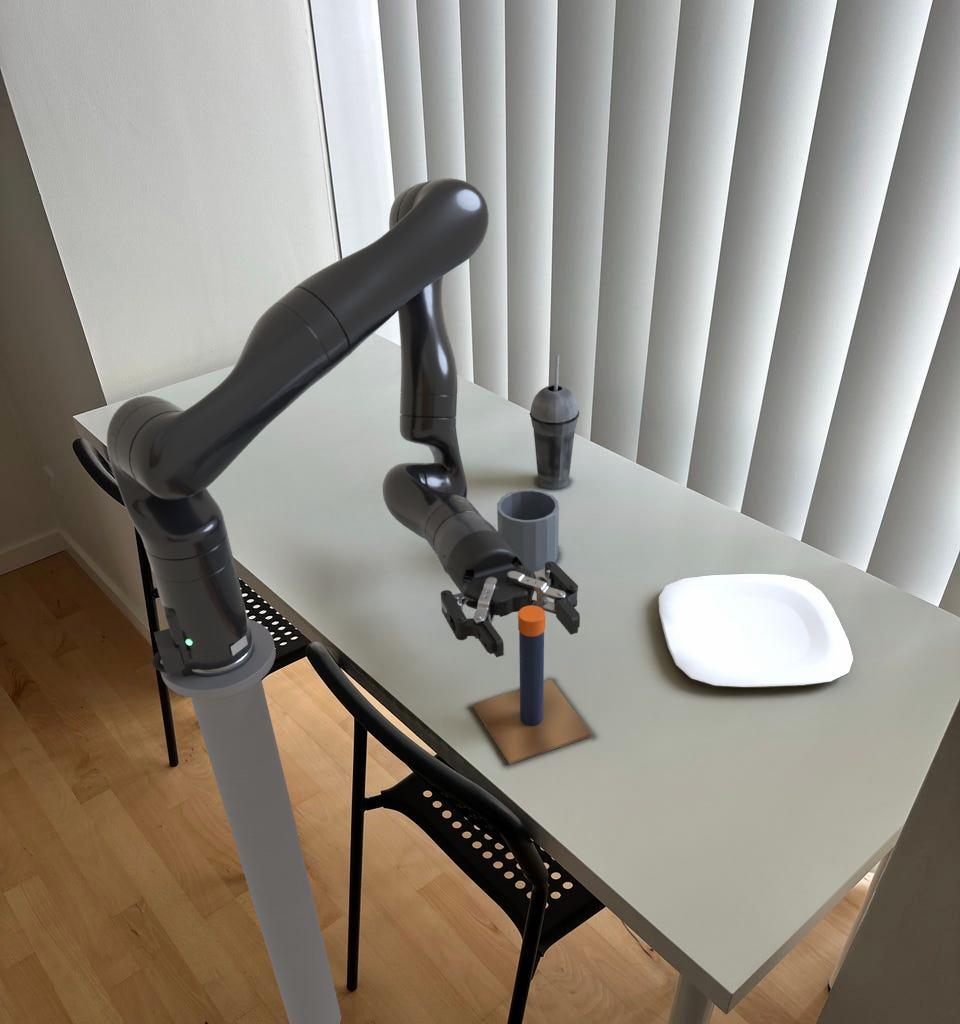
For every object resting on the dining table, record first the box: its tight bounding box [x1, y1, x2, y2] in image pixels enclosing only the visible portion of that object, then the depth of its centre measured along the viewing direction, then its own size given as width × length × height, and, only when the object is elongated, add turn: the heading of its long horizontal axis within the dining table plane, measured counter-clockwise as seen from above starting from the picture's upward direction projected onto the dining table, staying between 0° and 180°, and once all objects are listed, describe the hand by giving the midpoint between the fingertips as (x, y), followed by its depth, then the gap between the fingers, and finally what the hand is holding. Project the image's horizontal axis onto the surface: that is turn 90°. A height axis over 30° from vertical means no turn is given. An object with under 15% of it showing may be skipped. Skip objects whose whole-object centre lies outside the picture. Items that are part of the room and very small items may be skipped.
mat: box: [472, 678, 592, 765], centre depth 111 cm, size 10×10×1 cm
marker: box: [517, 605, 546, 726], centre depth 106 cm, size 3×3×15 cm
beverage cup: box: [529, 354, 580, 490], centre depth 145 cm, size 7×7×20 cm
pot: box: [496, 488, 560, 572], centre depth 134 cm, size 8×8×8 cm
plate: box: [658, 573, 854, 689], centre depth 120 cm, size 22×22×2 cm
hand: (538, 638), depth 101 cm, fingers open, 8 cm apart
